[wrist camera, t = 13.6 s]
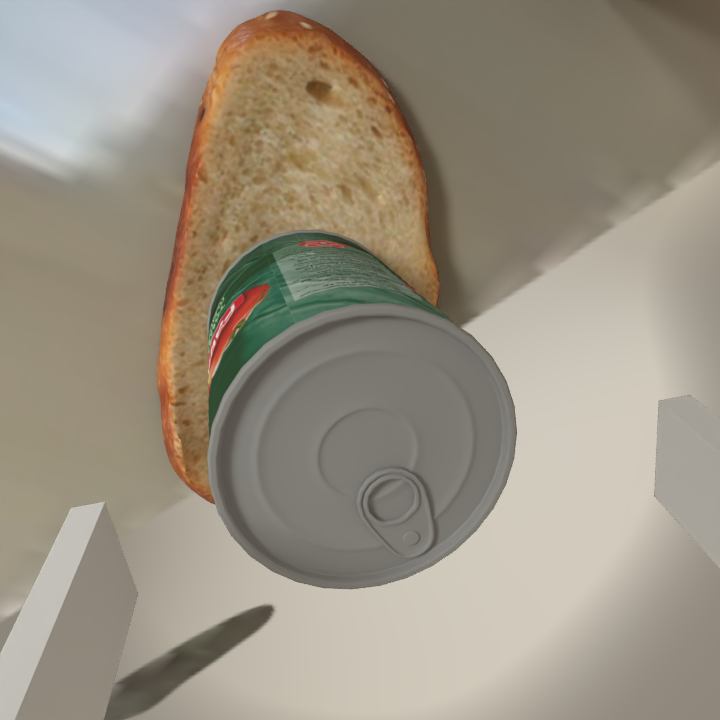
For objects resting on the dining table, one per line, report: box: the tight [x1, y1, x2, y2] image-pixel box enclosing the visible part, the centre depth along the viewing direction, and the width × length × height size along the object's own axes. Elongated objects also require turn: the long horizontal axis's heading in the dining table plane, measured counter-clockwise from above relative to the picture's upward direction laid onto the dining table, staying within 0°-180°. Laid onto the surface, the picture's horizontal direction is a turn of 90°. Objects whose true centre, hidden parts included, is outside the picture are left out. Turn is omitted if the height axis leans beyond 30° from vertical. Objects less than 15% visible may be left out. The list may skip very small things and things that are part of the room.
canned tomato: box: [207, 230, 517, 589], centre depth 21 cm, size 8×8×11 cm
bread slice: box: [157, 10, 440, 504], centre depth 27 cm, size 18×18×4 cm
